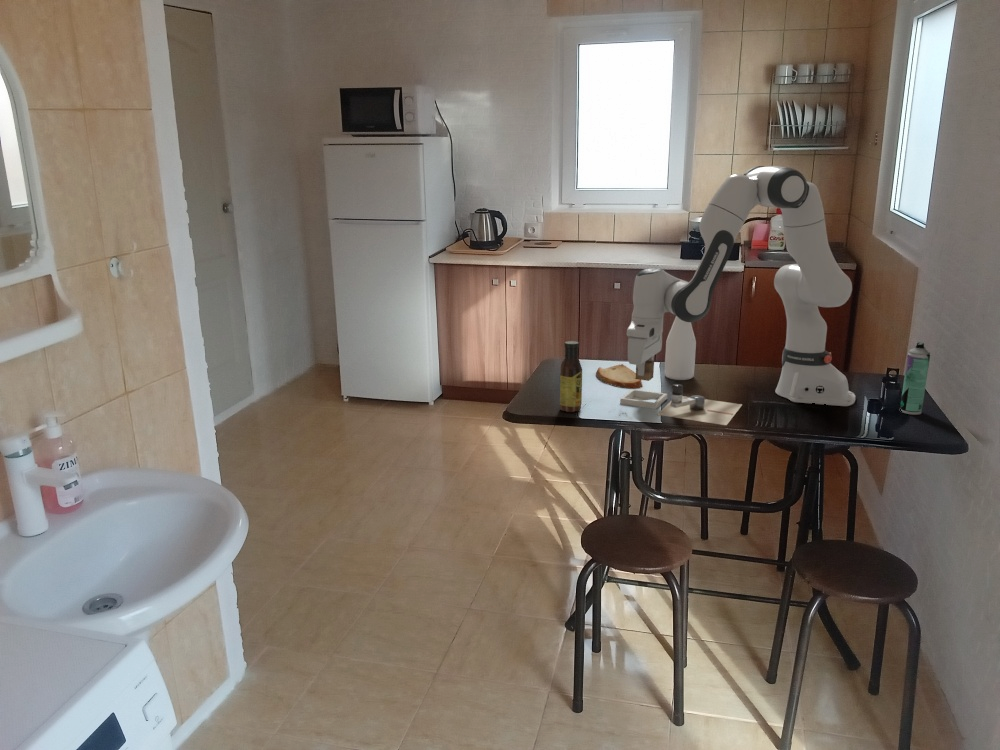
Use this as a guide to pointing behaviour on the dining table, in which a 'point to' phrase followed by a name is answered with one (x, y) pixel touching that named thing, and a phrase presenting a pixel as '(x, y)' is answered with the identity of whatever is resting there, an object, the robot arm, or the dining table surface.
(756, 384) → the dining table surface
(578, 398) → the sauce bottle
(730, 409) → the crank board
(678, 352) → the wine bottle
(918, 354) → the spray can
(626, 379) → the bread slice
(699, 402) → the crank
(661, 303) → the robot arm
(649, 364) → the block
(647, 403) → the tray
